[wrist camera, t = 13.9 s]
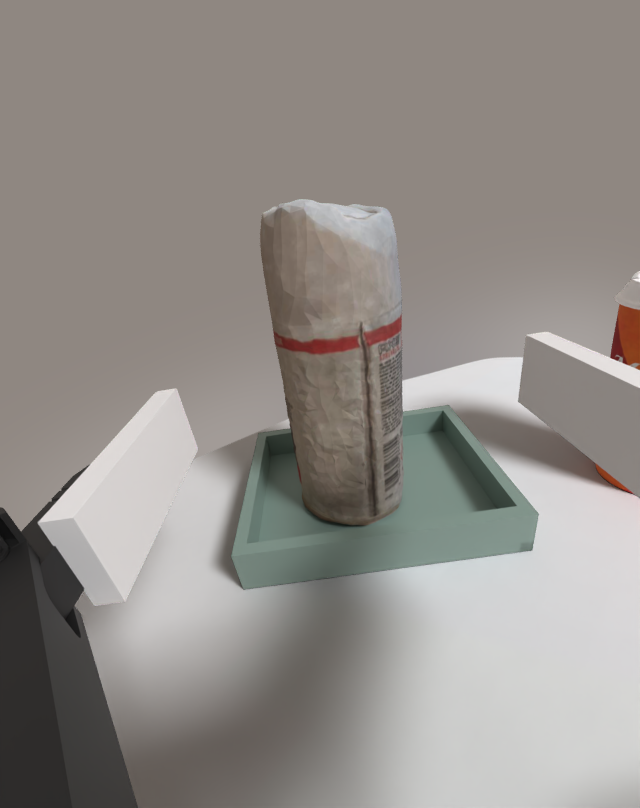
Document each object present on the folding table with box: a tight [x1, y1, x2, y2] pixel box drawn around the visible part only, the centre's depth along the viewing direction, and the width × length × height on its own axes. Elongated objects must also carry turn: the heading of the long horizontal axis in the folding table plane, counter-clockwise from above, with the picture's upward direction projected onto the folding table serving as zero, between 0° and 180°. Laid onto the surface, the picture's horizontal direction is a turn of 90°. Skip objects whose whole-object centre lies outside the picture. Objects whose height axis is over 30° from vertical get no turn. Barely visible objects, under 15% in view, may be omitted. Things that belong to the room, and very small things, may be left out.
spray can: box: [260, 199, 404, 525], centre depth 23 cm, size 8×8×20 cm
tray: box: [231, 405, 539, 590], centre depth 27 cm, size 18×14×3 cm
